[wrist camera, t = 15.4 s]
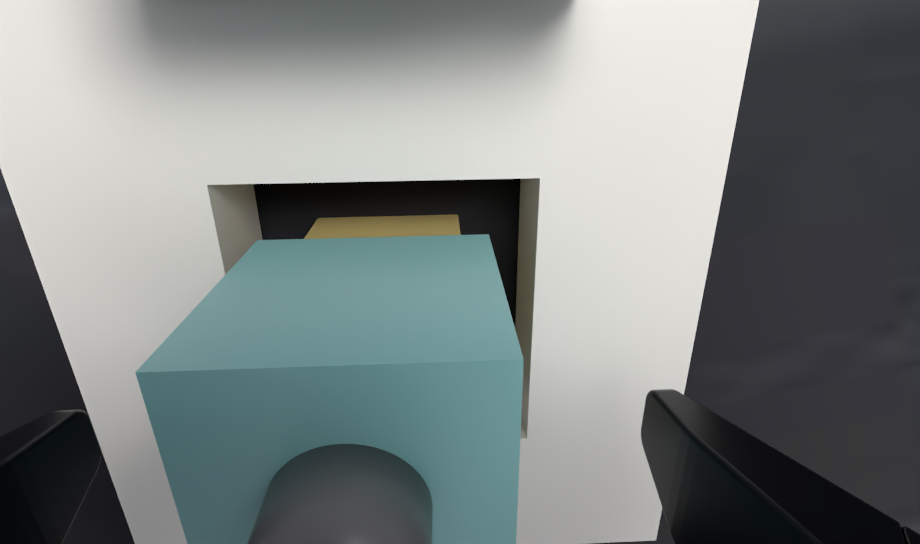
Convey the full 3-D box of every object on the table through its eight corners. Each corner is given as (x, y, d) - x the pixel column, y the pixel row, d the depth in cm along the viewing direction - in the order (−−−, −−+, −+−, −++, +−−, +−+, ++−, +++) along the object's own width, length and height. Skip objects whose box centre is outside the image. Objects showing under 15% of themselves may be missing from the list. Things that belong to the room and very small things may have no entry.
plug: (477, 350, 15) (529, 730, 7) (317, 355, 15) (165, 750, 6) (477, 194, 13) (548, 449, 5) (295, 198, 13) (46, 468, 5)
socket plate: (626, 473, 17) (655, 540, 15) (183, 490, 16) (142, 563, 14) (736, -270, 10) (828, -366, 7) (-40, -276, 9) (-197, -383, 7)
